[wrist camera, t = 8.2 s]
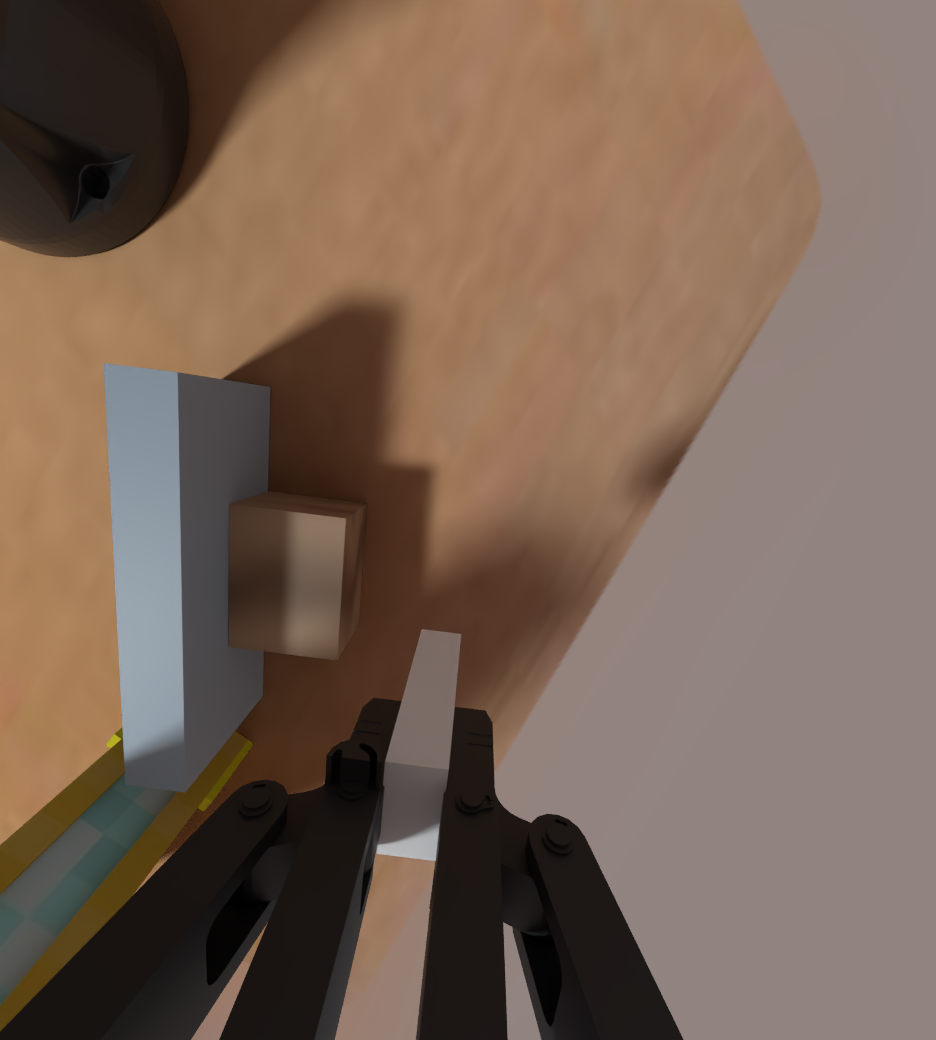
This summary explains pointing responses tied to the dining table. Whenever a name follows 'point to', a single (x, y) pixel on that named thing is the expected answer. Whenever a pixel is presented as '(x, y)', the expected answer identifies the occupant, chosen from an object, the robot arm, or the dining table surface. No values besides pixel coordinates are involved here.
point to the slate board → (180, 563)
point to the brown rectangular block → (295, 573)
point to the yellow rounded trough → (87, 863)
